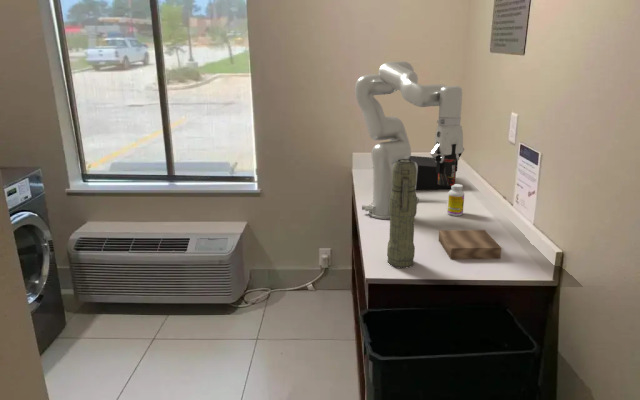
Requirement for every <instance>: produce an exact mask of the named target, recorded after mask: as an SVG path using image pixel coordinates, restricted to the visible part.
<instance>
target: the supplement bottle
mask: <svg viewBox="0 0 640 400" xmlns="http://www.w3.org/2000/svg"><path fill="white" fill-rule="evenodd" d="M463 187H464V186H463V184H461V183H460V184H459V183H455V184H454V185H453V186H451V189H452V190H449V191H448V192H447V195H448V197H447V206H446V207H447V208H446V210H447V211H446V213H447V214H448V215H449V216H454V217H459V216H460V217H461V216H462V215H463V213H464V207H465V206H464V202H465V192H464V191H463Z"/></svg>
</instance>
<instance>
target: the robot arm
mask: <svg viewBox="0 0 640 400" xmlns="http://www.w3.org/2000/svg"><path fill="white" fill-rule="evenodd" d="M377 73H378V74H377ZM377 73H375V74H374V73H372V74H365V75H363V76H361V77H359V78H357V80H356V83H355V87H354V95H355V100H356V101H357V104H358V106H359V108H360V110H361V112H362V117H363V118H364V123H365V125H366V129H367V132H368V134H369V138H370V139H371V140H373V141H383V142H378V143H377V144H375V145H374V146H373V147H372V149H371V159H372V161H371V162H372V167H373V168H372V169H373V172H372V173H373V175H372V177H373V178H372V179H373V181H372V184H373V185H372V187H373V188H372V202H371V204H369V205H366V204H365V205H363V204H362V205H361V210H362V211H365V212H368V215H369V216H370V217H371V218H375V219H382V220H388V219H389V220H390V213H389V198H390V195H391V192H392V170H393V167H392V164H395V161H398V160H399V159H409V158H410V156H412V148H411V144H410V140H409V137H408V135H407V132H406V128H405V125H404V123H403V121H402V119H400V118H399V117H398V116H394V115H393V116H386V114H385V112H384V109H383V106H382V105H381V103H380V102H379V101H378V99H377V98H375V96H382V95H391V94H394V93H396V92H397V91H399V92H400V93H401V95H402V98H403V99H404V100H405V101H406V102H409V104H412V105H413V106H416V107H419V108H427V107H429V108H430V107H438V120H437V121H436V124H438V126H436V131H435V137H434V146H433V149H432V150H431V152H430V155H431V157H432V158H434V159H435V162H437V164H436V173H439V174H443V173H444V163H443V160H444V157H445V156H447V155H451V153H452V148H451V147H452V146H451V145H452V144H456V151H455V154H456V166H455V172H456V173H457V172H458V164H459V160H460V157H461V156H462V154H463V152H464V151H465V148H464V133H463V125H461V119H462V118H461V117H462V116H461V115H462V102H463V101H462V100H463V88H462V87H461V86H458V85H445V84H424V85H422V84H419V83H418V81H419V77H418V74H417V73H416V72H415V69H414V66H412V63H410V62H407V61H399V60H398V61H387V62H384V63H383V64H381V65H380V67H379V69H378V72H377ZM384 140H389V141H384ZM440 153H441V154H440ZM440 156H441V158H440Z"/></svg>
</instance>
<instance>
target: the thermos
mask: <svg viewBox="0 0 640 400" xmlns="http://www.w3.org/2000/svg"><path fill="white" fill-rule="evenodd" d="M416 174H417V169H416V165H415V162H414V161H412V160H409V159H399V160H398V161H395V164H394V167H393V170H392V192H391V195H390V198H389V213H390V219H389V238H388V242H387V248H386V249H387V251H386V252H387V253H386V254H387V262H386V263H387V264H388V263H389V264H390V265H392V266H394V267H393V268H396V267H400V268H399V269H407V268H406V267H408V268H411V267H413V265H414V261H415V260H414V258H415V253H416V252H415V250H416V249H415V247H416V246H415V243H414V237H415V221H416V220H415V217H416V215H417V211H418V210H417V209H418V208H417V206H418V202H417V197H418V196H417V191H416V189H415V186H416ZM389 264H388V265H389ZM390 265H389V266H390ZM392 266H391V267H392ZM410 266H411V267H410Z"/></svg>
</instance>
